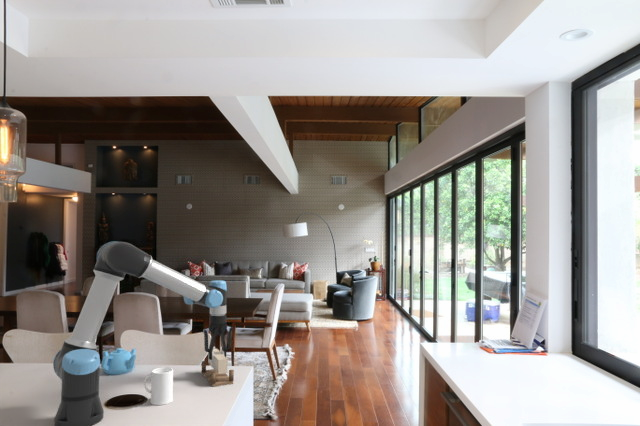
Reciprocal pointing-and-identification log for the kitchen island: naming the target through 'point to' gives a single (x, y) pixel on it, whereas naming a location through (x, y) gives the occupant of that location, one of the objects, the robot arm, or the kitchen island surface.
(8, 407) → the kitchen island surface
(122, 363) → the teapot
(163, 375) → the mug
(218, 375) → the rack
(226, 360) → the beige long block
